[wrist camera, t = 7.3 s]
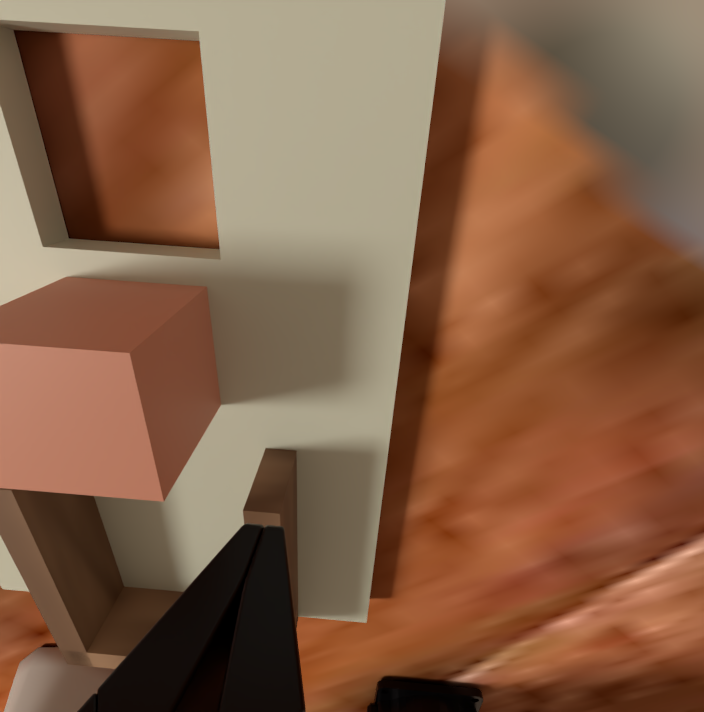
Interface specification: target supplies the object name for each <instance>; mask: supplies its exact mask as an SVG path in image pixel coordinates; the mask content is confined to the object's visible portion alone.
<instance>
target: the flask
mask: <svg viewBox="0 0 704 712" xmlns="http://www.w3.org/2000/svg"><path fill="white" fill-rule="evenodd" d="M114 670H115V669H110V668H100V667H89V666H79V665H69V664H67V663H66V661H65V659H64V657H63V655H62V653H61V651H60V649H59V647H41V648H37V649H36V650H35V651H34V652H32V653H31V654H30V655H29V656H27V657H26V658H25V659H24V660H22V661H21V662H20V664H19V667H18V670H17V672H16V675H15V678H14V681H13V685H12V688H11V691H10V694H9V697H8V701H7V704H6V707H5V710H4V712H77V711H78V710H79V709H80V708H81V707H82V706H83V704H84V703H85V702H86V701H87V700H88V699H89V698H90V696H91V695H92V694H94V693H96V694H97V690H98V688H99V687H100V686H101V684H102V683H103V682H104V681H105V680H106V679H107V678H108V676H109V675H110V674H111V673H112V672H113V671H114Z"/></svg>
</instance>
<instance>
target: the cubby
mask: <svg viewBox="0 0 704 712" xmlns="http://www.w3.org/2000/svg"><path fill="white" fill-rule="evenodd" d="M243 518H244V524H246V523H251V524H261V525H263V526H264V527H265V526H266V525H274V526H282V527H284V530H285V537H286V546H287V554H288V563H289V572H290V580H291V589H292V597H293V606H294V615H295V623H296V627H297V621H298V544H297V451H294V450H282V449H270V448H265V451H264V454H263V457H262V459H261V462H260V465H259V468H258V470H257V473H256V476H255V479H254V481H253V484H252V487H251V490H250V492H249V495H248V498H247V500H246V503H245V506H244V509H243ZM0 536H1V538H2V540H3V542H4V544H5V545H6V547H7V549H8V551H9V553H10V555H11V557H12V559H13V561H14V563H15V565H16V567H17V569H18V570H19V572H20V574H21V576H22V578H23V580H24V582H25V584H26V586H27V588H28V590H29V592H30V594H31V595H32V597H33V599H34V601H35V603H36V605H37V607H38V609H39V611H40V613H41V615H42V617H43V619H44V621H45V622H46V624H47V626H48V628H49V630H50V632H51V634H52V636H53V638H54V640H55V642H56V644H57V646H58V647H59V649H60V651H61V653H62V655H63V657H64V659H65V661H66V663H67V664H69V665H79V666H89V667H100V668H110V669H116V667H117V666H118V665H119V664H120V663H121V662H122V661H123V660H124V658H125V657H126V656H127V655H128V654H129V653H130V652H131V651H132V649H133V648H134V647H135V646H136V645H137V644H138V643H139V642H140V640H141V639H142V638H143V637H144V636H145V635H146V634H147V633H148V631H149V630H150V629H151V628H152V627H153V626H154V625H155V623H156V622H157V621H158V620H159V619H160V618H161V617H162V616H163V614H164V613H165V612H166V611H167V610H168V609H169V608H170V607H171V605H172V604H173V603H174V602H175V601H176V600H177V599H178V598H179V596H180V595H181V594H182V593H183V592H179V591H168V590H157V589H146V588H136V587H125V586H124V584H123V581H122V578H121V575H120V572H119V569H118V566H117V563H116V560H115V557H114V554H113V552H112V549H111V546H110V543H109V540H108V537H107V534H106V531H105V528H104V525H103V522H102V519H101V516H100V513H99V510H98V507H97V504H96V501H95V498H94V496H90V495H78V494H66V493H54V492H42V491H30V490H18V489H6V488H0Z"/></svg>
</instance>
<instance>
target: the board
mask: <svg viewBox="0 0 704 712" xmlns="http://www.w3.org/2000/svg"><path fill="white" fill-rule="evenodd" d="M445 3H446V0H0V306H1V305H3V304H5V303H8V302H10V301H12V300H15V299H17V298H19V297H21V296H24V295H26V294H28V293H30V292H33V291H35V290H37V289H39V288H42V287H44V286H46V285H49V284H51V283H53V282H55V281H58V280H60V279H62V278H64V277H76V278H91V279H105V280H119V281H134V282H148V283H162V284H177V285H191V286H205V287H207V292H208V300H209V308H210V317H211V325H212V333H213V342H214V350H215V359H216V367H217V375H218V384H219V392H220V400H221V406H220V408H219V409H218V411H217V413H216V415H215V416H214V418H213V420H212V421H211V423H210V425H209V426H208V428H207V430H206V431H205V433H204V435H203V436H202V438H201V440H200V442H199V443H198V445H197V447H196V448H195V450H194V452H193V453H192V455H191V457H190V458H189V460H188V462H187V464H186V465H185V467H184V469H183V470H182V472H181V474H180V475H179V477H178V479H177V480H176V482H175V484H174V485H173V487H172V489H171V491H170V492H169V494H168V496H167V497H166V499H165V501H164V502H161V501H149V500H137V499H126V498H114V497H102V496H94V498H95V501H96V504H97V507H98V510H99V513H100V516H101V519H102V522H103V525H104V528H105V531H106V534H107V537H108V540H109V543H110V546H111V549H112V552H113V554H114V557H115V560H116V563H117V566H118V569H119V572H120V575H121V578H122V581H123V584H124V586H125V587H136V588H146V589H157V590H168V591H179V592H184V591H185V590H186V589H187V587H188V586H189V585H190V584H191V583H192V582H193V581H194V579H195V578H196V577H197V576H198V575H199V574H200V573H201V572H202V570H203V569H204V568H205V567H206V566H207V565H208V564H209V563H210V561H211V560H212V559H213V558H214V557H215V556H216V555H217V554H218V552H219V551H220V550H221V549H222V548H223V547H224V546H225V545H226V543H227V542H228V541H229V540H230V539H231V538H232V537H233V536H234V534H235V533H236V532H237V531H238V530H239V529H240V528H241V527H242V526H243V525H244V518H243V509H244V506H245V503H246V500H247V498H248V495H249V492H250V490H251V487H252V484H253V481H254V479H255V476H256V473H257V470H258V468H259V465H260V462H261V459H262V457H263V454H264V451H265V448H270V449H282V450H294V451H297V544H298V616H299V617H310V618H321V619H332V620H342V621H353V622H364V623H366V622H367V615H368V607H369V599H370V591H371V583H372V575H373V568H374V560H375V552H376V544H377V536H378V528H379V521H380V513H381V505H382V497H383V489H384V481H385V474H386V466H387V458H388V450H389V442H390V434H391V427H392V419H393V411H394V403H395V395H396V387H397V379H398V372H399V364H400V356H401V348H402V340H403V332H404V325H405V317H406V309H407V301H408V293H409V285H410V278H411V270H412V262H413V254H414V246H415V238H416V231H417V223H418V215H419V207H420V199H421V191H422V184H423V176H424V168H425V160H426V152H427V144H428V137H429V129H430V121H431V113H432V105H433V97H434V89H435V82H436V74H437V66H438V58H439V50H440V42H441V35H442V27H443V19H444V11H445ZM14 30H23V31H40V32H57V33H74V34H91V35H108V36H125V37H142V38H159V39H176V40H193V41H200V49H201V59H202V70H203V80H204V90H205V101H206V111H207V122H208V132H209V143H210V153H211V163H212V174H213V184H214V195H215V205H216V215H217V226H218V236H219V247H220V249H210V248H196V247H182V246H168V245H153V244H139V243H125V242H111V241H97V240H83V239H69V237H68V233H67V229H66V225H65V222H64V218H63V214H62V210H61V207H60V203H59V199H58V195H57V192H56V188H55V184H54V180H53V177H52V173H51V169H50V165H49V162H48V158H47V154H46V150H45V147H44V143H43V139H42V135H41V132H40V128H39V124H38V120H37V117H36V113H35V109H34V105H33V102H32V98H31V94H30V90H29V87H28V83H27V79H26V75H25V71H24V68H23V64H22V60H21V56H20V53H19V49H18V45H17V41H16V38H15V34H14ZM0 585H1V587H2V589H8V590H19V591H29V590H28V588H27V586H26V584H25V582H24V580H23V578H22V576H21V574H20V572H19V570H18V569H17V567H16V565H15V563H14V561H13V559H12V557H11V555H10V553H9V551H8V549H7V547H6V545H5V544H4V542H3V540H2V538H1V536H0Z"/></svg>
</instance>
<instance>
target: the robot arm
mask: <svg viewBox="0 0 704 712" xmlns="http://www.w3.org/2000/svg"><path fill="white" fill-rule="evenodd" d="M482 702H483V697H482V692H481V691H480V690H479V689H474V688H464V687H453V686H443V685H432V684H422V683H412V682H401V681H391V680H381V681H379V682H378V683H377V687H376V693H375V699H374V703H370V705H369V706H368V707H367V712H479V709H480V707H481V705H482ZM77 712H305V701H304V692H303V684H302V675H301V667H300V658H299V649H298V641H297V632H296V623H295V615H294V606H293V597H292V589H291V580H290V572H289V563H288V554H287V546H286V537H285V530H284V527H282V526H274V525H266V526H265V527H264V526H263V525H261V524H251V523H246V524H244V525H243V526H242V527H241V528H240V529H239V530H238V531H237V532H236V533H235V534H234V536H233V537H232V538H231V539H230V540H229V541H228V542H227V543H226V545H225V546H224V547H223V548H222V549H221V550H220V551H219V552H218V554H217V555H216V556H215V557H214V558H213V559H212V560H211V561H210V563H209V564H208V565H207V566H206V567H205V568H204V569H203V570H202V572H201V573H200V574H199V575H198V576H197V577H196V578H195V579H194V581H193V582H192V583H191V584H190V585H189V586H188V587H187V589H186V590H185V591H184V592H183V593H182V594H181V595H180V596H179V598H178V599H177V600H176V601H175V602H174V603H173V604H172V605H171V607H170V608H169V609H168V610H167V611H166V612H165V613H164V614H163V616H162V617H161V618H160V619H159V620H158V621H157V622H156V623H155V625H154V626H153V627H152V628H151V629H150V630H149V631H148V633H147V634H146V635H145V636H144V637H143V638H142V639H141V640H140V642H139V643H138V644H137V645H136V646H135V647H134V648H133V649H132V651H131V652H130V653H129V654H128V655H127V656H126V657H125V658H124V660H123V661H122V662H121V663H120V664H119V665H118V666H117V667H116V669H115V670H114V671H113V672H112V673H111V674H110V675H109V676H108V678H107V679H106V680H105V681H104V682H103V683H102V684H101V686H100V687H99V688H98V690H97V694H96V693H94V694H92V695H91V696H90V698H89V699H88V700H87V701H86V702H85V703H84V704H83V706H82V707H81V708H80V709H79V710H78V711H77Z"/></svg>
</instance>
